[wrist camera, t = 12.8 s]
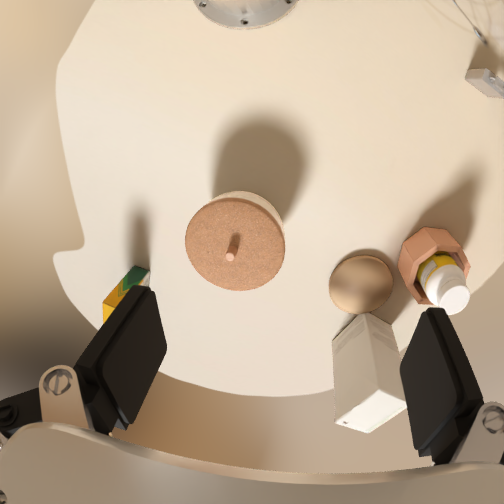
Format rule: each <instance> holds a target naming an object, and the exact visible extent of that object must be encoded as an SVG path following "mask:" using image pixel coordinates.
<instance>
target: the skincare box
mask: <svg viewBox="0 0 504 504" xmlns="http://www.w3.org/2000/svg"><path fill="white" fill-rule="evenodd" d="M332 354H333V373H334V399H335V420H334V422H335V423H337V424H340V425H343V426H346V427H350V428H353V429H356V430H359V431H362V432H365V433H369V432H371V431H373V430H374V429H375V428H377V427H379V426H380V425H382V424H383V423H385V422H386V421H388V420H389V419H391V418H392V417H394V416H395V415H397V414H398V413H399V412H401V411H403V410H404V409H405V408H407V405H406V400H405V395H404V390H403V386H402V381H401V377H400V364H401V358H400V354H399V351H398V347H397V343H396V340H395V337H394V333H393V330H392V326H391V325H389V324H388V323H386V322H384V321H383V320H381V319H379V318H377V317H376V316H374V315H372V314H371V313H369V312H367V313H362V314H359V315H358V316H357V317H356V318H355V319H354V320H353V321H352V322H351V323H350V324H349V325H348V326H347V327H346V328H345V329H344V330H343V331H342V332H341V333H340V334H339V335H338V336H337V337H336V338H335V339H334V340H333V341H332Z"/></svg>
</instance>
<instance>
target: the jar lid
mask: <svg viewBox="0 0 504 504" xmlns="http://www.w3.org/2000/svg"><path fill="white" fill-rule="evenodd" d="M392 288H393V278H392V275H391V272H390V270H389V268H388V267H387V265H386V264H385V263H384V262H383V261H382V260H380V259H378V258H376V257H373V256H368V255H360V256H354V257H351V258H349V259H347V260H345V261H343V262H342V263H340V264H339V265H338V266H337V267H336V268H335V270H334V271H333V273H332V274H331V277H330V280H329V293H330V297H331V300H332V301H333V303H334V304H335V305H336V306H337V307H338V308H339V309H341V310H343V311H345V312H348V313H352V314H362V313H367V312H371V311H373V310H375V309H377V308H379V307H380V306H381V305H382V304H384V303H385V301H386V300H387V299H388V298H389V296H390V294H391V292H392Z"/></svg>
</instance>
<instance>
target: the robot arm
mask: <svg viewBox="0 0 504 504" xmlns="http://www.w3.org/2000/svg"><path fill="white" fill-rule="evenodd" d="M193 1H194V3H195V5H196V7H197V8H198V10H199V11H200V12H201V13H202V14H203V15H204V16H205V17H207V18H208V19H209V20H211V21H213V22H215V23H216V24H218V25H221V26H224V27H227V28H233V29H254V28H260V27H263V26H267V25H270V24H272V23H274V22H276V21H278V20H280V19H281V18H283V17H284V16H286V15H287V14H288V13H289V12H290V11H291V10H292V9H293V8H294V7H295V5H296V4H297V2H298V1H299V0H193ZM287 1H291V3H290V4H288V3H287ZM205 4H206V6H205V7H203V6H204V5H205ZM246 21H247V22H248V24H246V25H244V22H246ZM166 351H167V343H166V339H165V335H164V331H163V327H162V323H161V318H160V314H159V309H158V305H157V300H156V296H155V292H154V291H151V289H150V287H148V286H142V285H133V286H132V287H131V288H130V289H129V291H128V292H127V293H126V294H125V296H124V297H123V298H122V300H121V301H120V302H119V304H118V305H117V306H116V308H115V309H114V310H113V312H112V313H111V314H110V316H109V317H108V318H107V320H106V321H105V323H104V324H103V325H102V327H101V328H100V329H99V331H98V332H97V334H96V335H95V336H94V338H93V340H92V341H91V342H90V343H89V345H88V346H87V348H86V349H85V351H84V352H83V354H82V355H81V356H80V358H79V359H78V361H77V362H76V365H75V366H74V368H73V369H72V368H71V367H68V366H65V365H59V366H55V367H52V368H50V369H49V370H47V371H46V372H45V373H44V374H43V376H42V377H41V379H40V382H39V388H35V389H33V390H30V391H27V392H24V393H21V394H18V395H15V396H12V397H8V398H6V399H3V400H1V401H0V504H504V406H503V405H502V404H500V403H497V402H488V403H485V404H484V401H483V396H482V393H481V391H480V388H479V386H478V383H477V380H476V378H475V375H474V373H473V370H472V368H471V365H470V363H469V361H468V358H467V356H466V354H465V351H464V349H463V347H462V344H461V342H460V340H459V338H458V336H457V334H456V331H455V330H454V327H453V325H452V323H451V321H450V319H449V317H448V315H447V313H446V311H445V309H444V308H433V307H430V308H428V309H427V310H426V312H425V311H424V312H423V313H422V314H421V317H420V319H419V322H418V324H417V327H416V329H415V332H414V334H413V336H412V339H411V341H410V344H409V346H408V348H407V351H406V353H405V355H404V357H403V359H402V362H401V364H400V377H401V381H402V386H403V390H404V395H405V400H406V405H407V410H408V415H409V420H410V426H411V432H412V438H413V444H414V448H415V449H416V450H418V453H419V457H424V456H430V455H431V456H432V461H433V462H432V464H431V465H430V467H422V468H415V469H406V470H396V471H387V472H386V471H385V472H372V473H350V474H349V473H348V474H315V473H293V472H292V473H291V472H277V471H267V470H258V469H249V468H242V467H235V466H228V465H222V464H216V463H210V462H205V461H200V460H195V459H190V458H186V457H181V456H177V455H173V454H169V453H165V452H161V451H157V450H154V449H150V448H147V447H143V446H139V445H136V444H132V443H129V442H126V441H122V440H120V439H116V438H113V436H112V434H111V432H112V430H113V428H114V427H117V428H120V429H123V430H127V427H128V425H129V424H132V423H133V422H134V421H135V419H136V417H137V414H138V412H139V410H140V408H141V406H142V403H143V401H144V399H145V397H146V395H147V393H148V390H149V388H150V386H151V384H152V382H153V379H154V377H155V375H156V373H157V371H158V369H159V367H160V365H161V363H162V361H163V359H164V356H165V354H166Z"/></svg>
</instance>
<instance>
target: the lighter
mask: <svg viewBox="0 0 504 504" xmlns="http://www.w3.org/2000/svg"><path fill="white" fill-rule="evenodd" d="M465 80H466V81H467V82H469V83H470V84H471V85H473V86H474V87H475V88H477V89H478V90H479V91H481V92H482V93H483V94H484V95H486V96H487V97H494V98H502V99H504V81H502V80H501V79H500V78H499V77H498V76H496V75H494V74H493V73H492V72H491V71H490V70H488V69H487V68H482V69H469V70H468V71H467V74H466V77H465Z"/></svg>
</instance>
